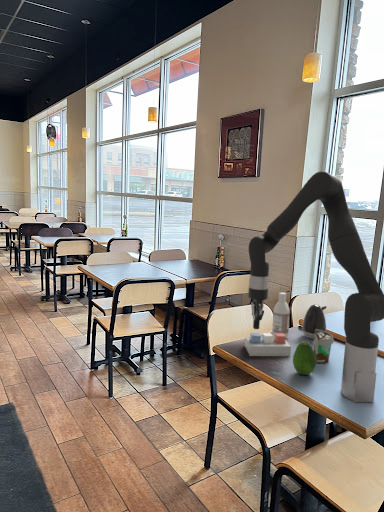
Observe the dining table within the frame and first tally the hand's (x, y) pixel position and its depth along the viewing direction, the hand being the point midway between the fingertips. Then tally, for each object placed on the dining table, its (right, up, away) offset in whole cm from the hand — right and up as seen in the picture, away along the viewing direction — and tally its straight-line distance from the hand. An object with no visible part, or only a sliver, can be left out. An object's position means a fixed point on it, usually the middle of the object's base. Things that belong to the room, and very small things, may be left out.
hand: (256, 328), depth 148 cm
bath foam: (+14, -7, +18) cm, 24 cm away
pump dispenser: (+29, -8, +18) cm, 35 cm away
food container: (+25, -11, -5) cm, 28 cm away
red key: (+10, -7, +1) cm, 12 cm away
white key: (+5, -7, +1) cm, 8 cm away
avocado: (+14, -13, -18) cm, 26 cm away
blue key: (0, -7, +1) cm, 7 cm away
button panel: (+5, -9, +1) cm, 11 cm away
